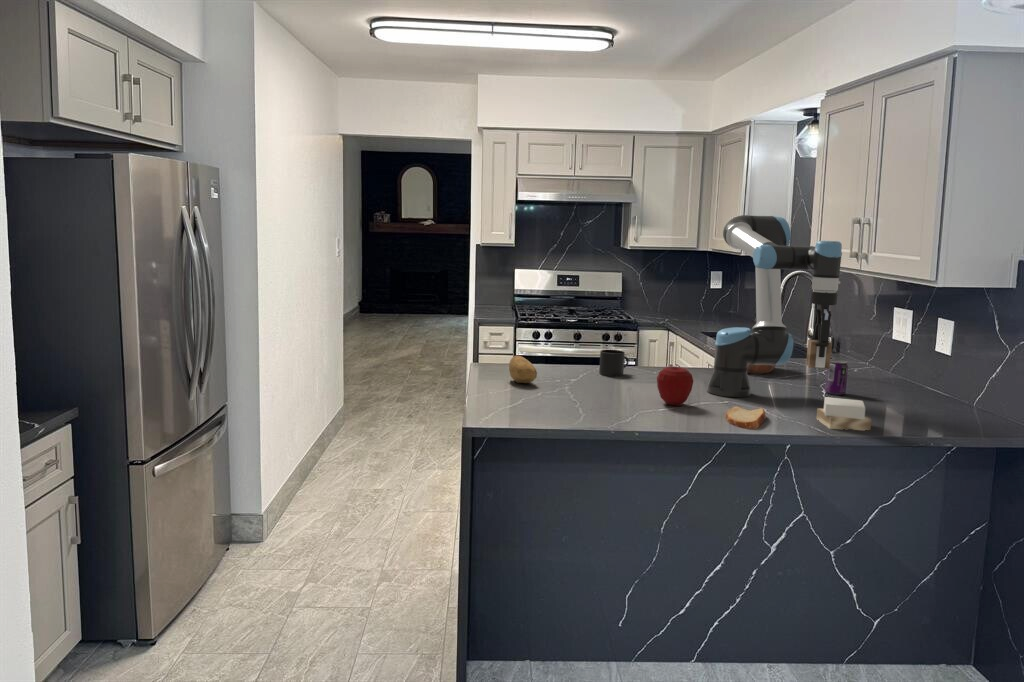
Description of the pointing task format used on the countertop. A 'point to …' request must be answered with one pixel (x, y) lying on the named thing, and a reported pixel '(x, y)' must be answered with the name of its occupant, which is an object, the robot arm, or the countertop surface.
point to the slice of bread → (745, 417)
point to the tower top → (844, 408)
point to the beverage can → (836, 377)
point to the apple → (674, 385)
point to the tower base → (843, 422)
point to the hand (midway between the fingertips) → (818, 365)
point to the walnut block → (812, 354)
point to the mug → (612, 362)
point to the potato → (522, 370)
